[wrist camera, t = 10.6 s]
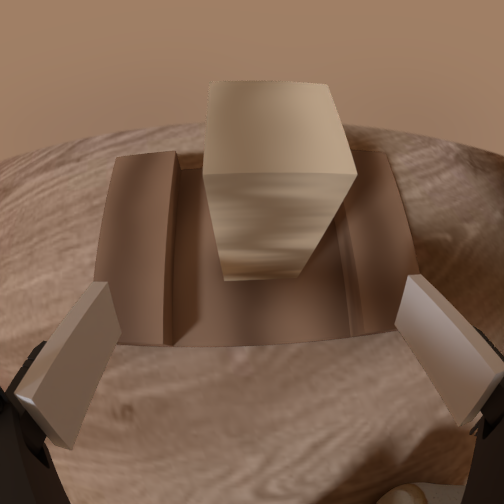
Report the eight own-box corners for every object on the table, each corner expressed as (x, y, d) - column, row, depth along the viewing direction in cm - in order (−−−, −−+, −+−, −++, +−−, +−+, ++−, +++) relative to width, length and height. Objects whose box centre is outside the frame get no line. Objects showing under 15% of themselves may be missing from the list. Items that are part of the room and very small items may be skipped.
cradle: (373, 173, 24) (385, 152, 22) (406, 328, 19) (428, 322, 17) (127, 178, 23) (116, 157, 21) (109, 343, 18) (89, 339, 16)
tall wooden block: (290, 214, 22) (327, 84, 11) (297, 278, 20) (357, 174, 9) (223, 215, 22) (209, 82, 11) (224, 280, 20) (202, 174, 9)
